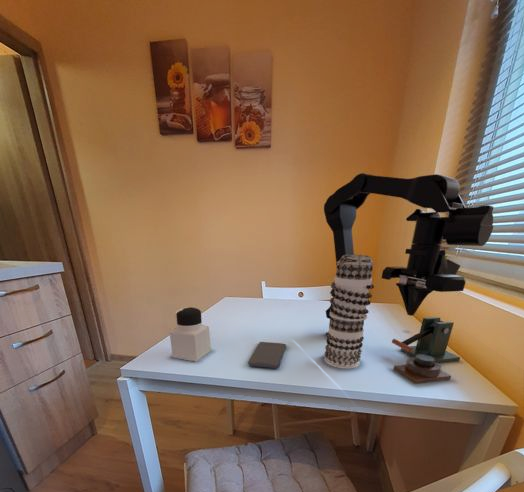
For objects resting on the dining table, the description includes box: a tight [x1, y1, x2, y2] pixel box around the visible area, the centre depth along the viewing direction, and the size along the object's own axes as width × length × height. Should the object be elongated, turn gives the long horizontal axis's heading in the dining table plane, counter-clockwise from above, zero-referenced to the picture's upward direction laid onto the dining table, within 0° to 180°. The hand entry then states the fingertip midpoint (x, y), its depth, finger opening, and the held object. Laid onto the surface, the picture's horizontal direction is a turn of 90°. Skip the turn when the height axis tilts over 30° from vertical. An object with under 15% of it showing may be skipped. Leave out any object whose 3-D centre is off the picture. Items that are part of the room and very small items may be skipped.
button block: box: [393, 357, 452, 385], centre depth 62 cm, size 9×7×3 cm
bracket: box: [400, 316, 461, 364], centre depth 71 cm, size 10×9×10 cm
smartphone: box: [247, 341, 287, 369], centre depth 71 cm, size 8×1×15 cm
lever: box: [391, 319, 444, 352], centre depth 69 cm, size 12×6×2 cm, turn 104°
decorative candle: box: [324, 254, 376, 369], centre depth 64 cm, size 9×9×25 cm
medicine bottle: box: [169, 306, 212, 363], centre depth 69 cm, size 7×7×12 cm
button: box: [414, 354, 435, 368], centre depth 61 cm, size 4×4×2 cm
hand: (410, 315), depth 65 cm, fingers closed
